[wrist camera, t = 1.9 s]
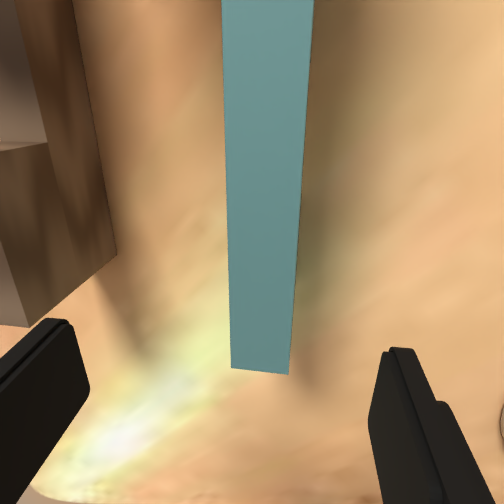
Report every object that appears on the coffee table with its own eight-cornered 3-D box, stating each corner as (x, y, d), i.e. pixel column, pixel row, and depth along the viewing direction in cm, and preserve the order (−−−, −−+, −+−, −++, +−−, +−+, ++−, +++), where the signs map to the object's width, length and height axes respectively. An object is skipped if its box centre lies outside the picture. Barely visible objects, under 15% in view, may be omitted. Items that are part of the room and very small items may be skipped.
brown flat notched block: (-27, -234, 14) (-380, -576, 7) (28, -242, 14) (-283, -611, 6) (82, 252, 23) (-19, 322, 16) (117, 254, 23) (29, 327, 16)
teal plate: (261, -91, 15) (214, -271, 7) (321, -95, 14) (332, -287, 7) (256, 278, 22) (231, 367, 15) (295, 282, 22) (288, 374, 15)
